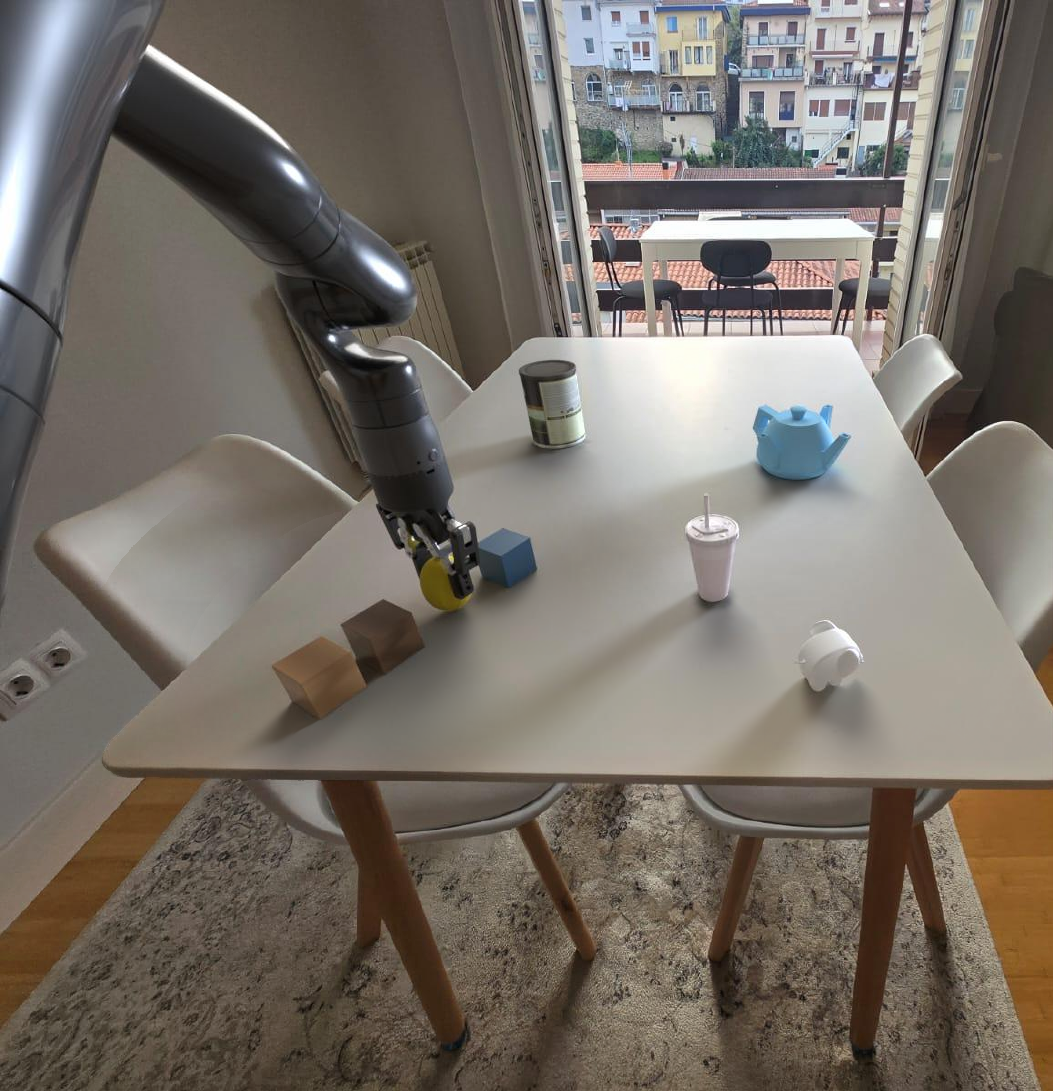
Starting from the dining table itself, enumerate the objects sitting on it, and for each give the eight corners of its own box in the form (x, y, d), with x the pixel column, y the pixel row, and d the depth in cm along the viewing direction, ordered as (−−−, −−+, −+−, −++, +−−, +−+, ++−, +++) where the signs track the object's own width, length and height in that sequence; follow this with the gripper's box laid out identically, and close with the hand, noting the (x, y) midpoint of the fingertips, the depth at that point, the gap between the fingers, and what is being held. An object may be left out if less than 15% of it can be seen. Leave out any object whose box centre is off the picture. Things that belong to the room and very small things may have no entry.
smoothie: (693, 575, 78) (688, 480, 71) (741, 579, 78) (742, 483, 70) (683, 606, 73) (677, 506, 65) (735, 610, 72) (735, 510, 65)
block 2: (384, 674, 64) (369, 639, 61) (356, 658, 66) (340, 624, 63) (425, 646, 67) (411, 612, 65) (396, 632, 70) (383, 598, 67)
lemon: (469, 624, 71) (451, 569, 66) (423, 624, 71) (402, 569, 66) (485, 595, 75) (470, 542, 71) (442, 596, 75) (424, 542, 71)
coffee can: (524, 448, 114) (509, 375, 106) (543, 428, 122) (530, 359, 115) (576, 450, 113) (565, 376, 105) (592, 429, 121) (582, 360, 114)
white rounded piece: (876, 690, 61) (884, 647, 58) (806, 712, 59) (810, 668, 56) (843, 648, 67) (848, 606, 63) (778, 666, 64) (780, 624, 61)
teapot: (831, 447, 113) (836, 392, 107) (847, 483, 100) (853, 422, 94) (751, 448, 113) (752, 393, 107) (756, 485, 100) (757, 424, 94)
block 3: (508, 588, 76) (500, 556, 74) (481, 577, 79) (472, 545, 76) (537, 568, 80) (530, 537, 77) (510, 558, 82) (502, 527, 80)
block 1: (320, 719, 59) (299, 683, 56) (291, 700, 61) (270, 665, 58) (367, 686, 62) (350, 651, 60) (338, 670, 64) (321, 635, 62)
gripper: (328, 457, 62) (381, 586, 71) (418, 487, 56) (463, 624, 65) (393, 432, 68) (434, 556, 77) (481, 458, 62) (514, 588, 71)
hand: (447, 587), depth 71 cm, fingers closed on lemon, 5 cm apart
